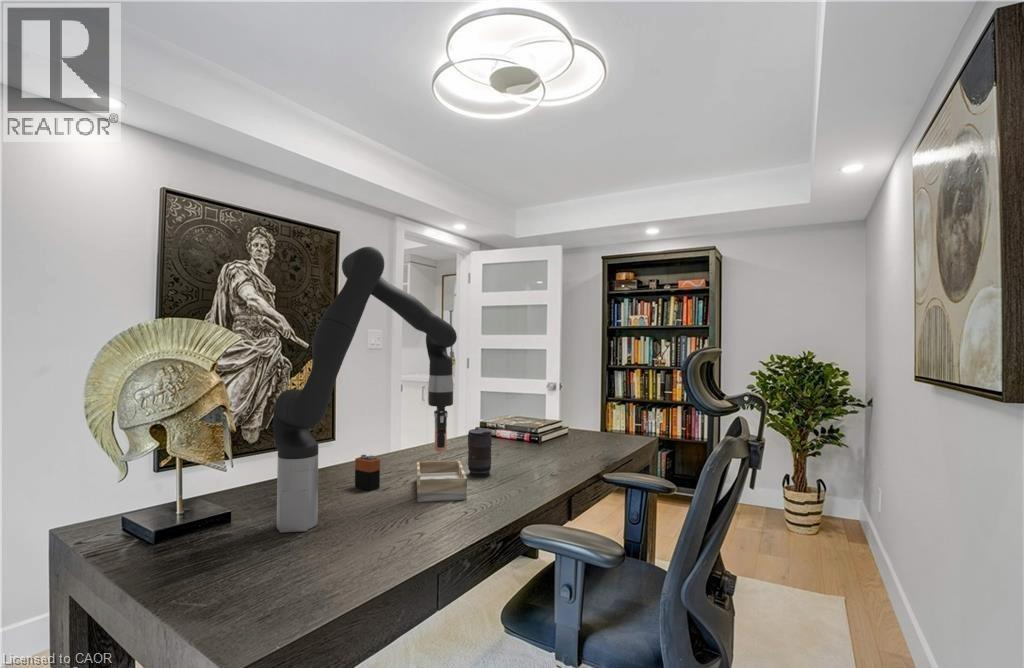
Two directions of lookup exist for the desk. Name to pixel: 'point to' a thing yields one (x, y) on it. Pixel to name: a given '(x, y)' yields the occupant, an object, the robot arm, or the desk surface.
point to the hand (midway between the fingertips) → (440, 445)
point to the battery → (367, 472)
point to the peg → (436, 440)
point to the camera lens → (479, 452)
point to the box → (441, 481)
